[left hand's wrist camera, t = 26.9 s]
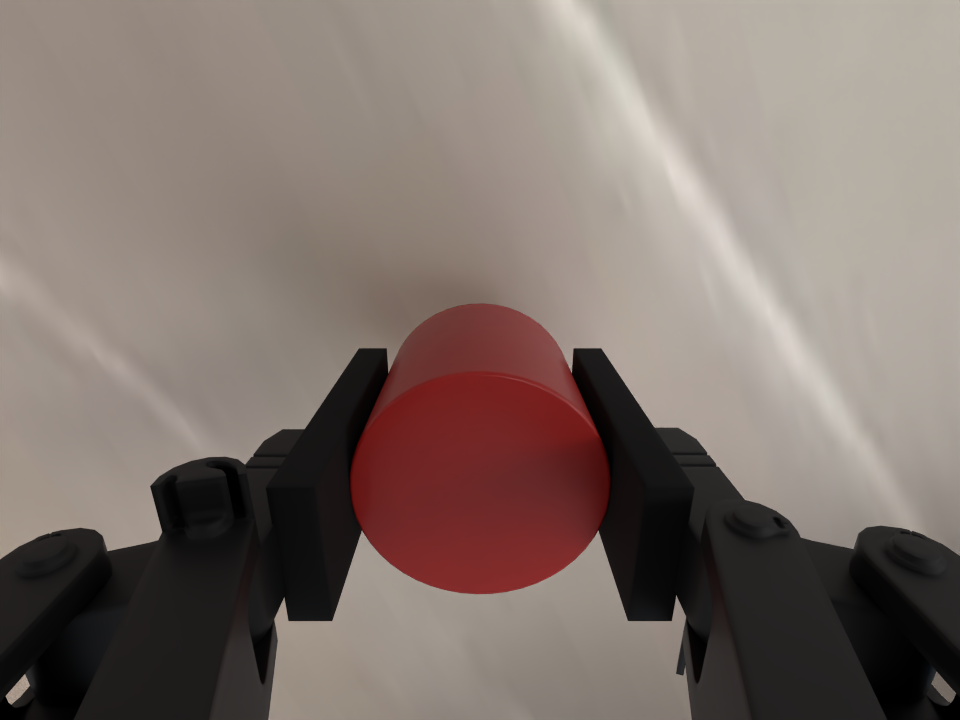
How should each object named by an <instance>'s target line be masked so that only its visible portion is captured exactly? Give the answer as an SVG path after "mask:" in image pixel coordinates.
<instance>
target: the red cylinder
mask: <svg viewBox="0 0 960 720" xmlns="http://www.w3.org/2000/svg"><path fill="white" fill-rule="evenodd" d="M610 489H611V473H610V465H609V461H608V456H607V452H606V450H605V447H604V445H603V443H602V440H601V438H600V436H599V433H598V431H597V429H596V427H595V424H594V422H593V420H592V418H591V415H590V413H589V411H588V409H587V407H586V404H585V402H584V400H583V398H582V395H581V393H580V391H579V389H578V387H577V384H576V382H575V380H574V378H573V375H572V373H571V371H570V369H569V366H568V364H567V362H566V360H565V358H564V355H563V353H562V351H561V349H560V348H559V346H558V344H557V343H556V341H555V340H554V339H553V337H552V336H551V335H550V334H549V333H548V332H547V331H546V330H545V329H544V328H543V327H542V326H541V325H540V324H539V323H537V322H536V321H534V320H533V319H532V318H530V317H528V316H526V315H524V314H523V313H521V312H518V311H516V310H513V309H510V308H507V307H503V306H499V305H492V304H468V305H461V306H457V307H453V308H450V309H447V310H444V311H442V312H440V313H438V314H435V315H434V316H432V317H430V318H429V319H427V320H426V321H424V322H423V323H422V324H421V325H419V326H418V327H417V328H416V329H415V330H414V331H413V332H412V333H411V334H410V335H409V336H408V337H407V339H406V340H405V342H404V343H403V345H402V346H401V348H400V350H399V352H398V354H397V356H396V358H395V360H394V362H393V365H392V367H391V369H390V371H389V374H388V376H387V378H386V380H385V383H384V385H383V387H382V389H381V392H380V394H379V396H378V398H377V401H376V403H375V405H374V407H373V410H372V412H371V414H370V416H369V419H368V421H367V423H366V425H365V428H364V430H363V432H362V434H361V437H360V439H359V441H358V443H357V446H356V449H355V452H354V455H353V458H352V463H351V469H350V494H351V502H352V505H353V509H354V512H355V515H356V518H357V520H358V523H359V525H360V527H361V529H362V531H363V533H364V534H365V536H366V537H367V539H368V540H369V542H370V543H371V544H372V546H373V547H374V548H375V549H376V550H377V551H378V553H379V554H380V555H381V556H382V557H384V558H385V559H386V560H387V561H388V562H389V563H390V564H391V565H393V566H394V567H396V568H397V569H399V570H400V571H401V572H403V573H405V574H406V575H408V576H410V577H412V578H414V579H415V580H418V581H420V582H422V583H425V584H427V585H430V586H433V587H436V588H440V589H443V590H447V591H453V592H458V593H468V594H493V593H501V592H508V591H513V590H517V589H521V588H524V587H527V586H530V585H533V584H536V583H538V582H540V581H542V580H545V579H547V578H549V577H551V576H552V575H554V574H556V573H557V572H559V571H561V570H562V569H564V568H565V567H566V566H567V565H569V564H570V563H571V562H572V561H574V560H575V559H576V558H577V557H578V556H579V555H580V554H581V553H582V552H583V551H584V550H585V549H586V547H587V546H588V545H589V543H590V542H591V541H592V540H593V538H594V537H595V535H596V533H597V531H598V530H599V528H600V526H601V524H602V522H603V519H604V516H605V514H606V511H607V507H608V503H609V498H610Z"/></svg>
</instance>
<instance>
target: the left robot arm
mask: <svg viewBox="0 0 960 720" xmlns="http://www.w3.org/2000/svg"><path fill="white" fill-rule="evenodd" d="M572 375H573V378H574V380H575V382H576V384H577V387H578V389H579V391H580V393H581V395H582V398H583V400H584V402H585V404H586V407H587V409H588V411H589V413H590V415H591V418H592V420H593V422H594V424H595V427H596V429H597V431H598V433H599V436H600V438H601V440H602V443H603V445H604V447H605V450H606V452H607V456H608V461H609V465H610V473H611V489H610V498H609V503H608V507H607V511H606V514H605V516H604V519H603V522H602V524H601V526H600V528H599V533H600V536H601V539H602V543H603V546H604V549H605V552H606V555H607V558H608V561H609V564H610V567H611V570H612V573H613V576H614V579H615V582H616V585H617V588H618V592H619V595H620V598H621V601H622V604H623V607H624V610H625V613H626V616H627V619H628V621H672V616H673V611H674V605H675V599H676V595H677V597H678V600H679V602H680V604H681V606H682V608H683V611H684V613H685V615H686V621H685V627H684V632H683V637H682V643H681V648H680V654H679V659H678V665H677V672H676V674H679V675H683V674H684V669H685V666H686V674H687V682H688V691H689V699H690V707H691V716H692V720H960V556H959V555H958V554H956V553H955V552H953V551H952V550H950V549H949V548H947V547H946V546H944V545H943V544H941V543H938V542H936V541H934V540H932V539H930V538H928V537H926V536H925V535H922V534H920V533H917V532H914V531H912V532H911V531H910V530H907V529H902V528H895V527H887V526H875V527H867V528H865V529H864V530H863V531H861V532H860V533H859V534H858V537H857V540H856V544H855V547H854V549H850V548H845V547H840V546H835V545H830V544H825V543H820V542H815V541H811V540H807V539H804V538H801V537H800V535H799V533H798V531H797V530H796V529H795V527H794V526H793V525H792V523H791V522H790V521H789V520H788V519H786V518H785V517H784V516H782V515H781V514H779V513H778V512H777V511H775V510H773V509H770V508H768V507H766V506H763V505H761V504H759V503H755V502H750V501H746V500H744V498H743V497H742V496H741V495H740V493H739V492H738V491H737V490H736V488H735V487H734V486H733V485H732V483H731V482H730V481H729V479H728V478H727V477H726V476H725V474H724V473H723V472H722V471H721V469H720V468H719V467H716V463H715V462H714V461H713V459H712V458H711V457H710V456H709V455H707V452H706V451H705V449H704V448H703V447H702V446H701V444H700V443H699V442H698V441H697V439H695V438H694V437H692V436H690V435H689V434H687V433H686V432H684V431H682V430H681V429H679V428H654V426H653V425H652V423H651V422H650V420H649V419H648V417H647V416H646V414H645V413H644V411H643V410H642V408H641V407H640V406H639V404H638V403H637V401H636V400H635V398H634V397H633V395H632V394H631V392H630V391H629V389H628V388H627V386H626V385H625V383H624V382H623V380H622V379H621V377H620V376H619V374H618V373H617V371H616V370H615V368H614V367H613V365H612V364H611V362H610V361H609V359H608V358H607V356H606V355H605V353H604V352H603V350H602V349H601V348H574V351H573V366H572ZM387 376H388V361H387V348H359V349H358V351H357V352H356V354H355V355H354V357H353V358H352V360H351V361H350V363H349V364H348V366H347V367H346V369H345V370H344V372H343V373H342V375H341V376H340V378H339V379H338V381H337V382H336V384H335V385H334V387H333V388H332V390H331V391H330V393H329V394H328V396H327V397H326V399H325V400H324V402H323V403H322V405H321V406H320V407H319V409H318V410H317V412H316V413H315V415H314V416H313V418H312V419H311V421H310V422H309V424H308V425H307V427H306V428H305V429H283V430H281V431H279V432H278V433H276V434H275V435H273V436H271V437H270V438H268V439H267V440H265V441H264V442H263V443H262V444H261V446H260V447H259V448H258V449H257V451H256V452H255V453H254V456H253V457H251V458H250V460H249V461H248V462H247V463H246V465H245V464H243V463H242V462H241V461H239V460H238V459H233V458H229V457H208V458H204V459H199V460H194V461H190V462H187V463H185V464H182V465H180V466H177V467H174V468H172V469H171V470H169V471H168V472H166V473H164V474H163V475H161V476H159V477H158V478H157V480H156V481H155V482H154V483H153V484H152V485H151V486H150V487H151V491H152V495H153V498H154V502H155V506H156V510H157V513H158V517H159V521H160V525H161V529H162V534H161V536H160V538H159V540H158V541H154V542H150V543H146V544H141V545H136V546H131V547H127V548H122V549H117V550H112V551H107V548H106V545H105V542H104V539H103V536H102V535H101V534H99V533H98V532H97V531H95V530H92V529H84V528H76V529H68V530H60V531H56V532H52V533H51V534H49V533H48V534H45V535H43V536H40V537H37V538H36V539H34V540H32V541H30V542H28V543H26V544H24V545H22V546H19V547H18V548H16V549H15V550H13V551H12V552H10V553H9V554H7V555H6V556H5V557H3V558H2V559H0V720H268V717H269V709H270V700H271V692H272V684H273V675H274V667H275V659H276V650H277V642H278V640H277V633H276V627H275V621H274V618H275V616H276V614H277V612H278V610H279V607H280V605H281V603H282V601H283V599H284V597H285V603H286V609H287V614H288V620H289V621H332V620H333V617H334V614H335V611H336V608H337V605H338V602H339V599H340V596H341V593H342V589H343V586H344V583H345V580H346V577H347V574H348V571H349V568H350V565H351V562H352V559H353V556H354V553H355V550H356V547H357V543H358V540H359V537H360V534H361V531H362V529H361V527H360V525H359V523H358V520H357V518H356V515H355V512H354V509H353V505H352V502H351V494H350V469H351V463H352V458H353V455H354V452H355V449H356V446H357V443H358V441H359V439H360V437H361V434H362V432H363V430H364V428H365V425H366V423H367V421H368V419H369V416H370V414H371V412H372V410H373V407H374V405H375V403H376V401H377V398H378V396H379V394H380V392H381V389H382V387H383V385H384V383H385V380H386V378H387ZM936 671H937V672H938V673H939V674H940V675H941V677H942V678H943V679H944V680H945V681H946V682H947V683H948V684H949V686H950V687H951V688H952V689H953V690H954V691H955V692H956V695H955V697H954V700H953V701H952V702H951V703H949V702H948V701H947V700H946V699H945V698H944V697H943V696H941V695H940V693H939V692H938V691H937V690H936V689H935V688H934V686H933V685H932V684H931V683H932V680H933V678H934V676H935V674H936ZM24 674H25V675H26V677H27V679H28V682H29V684H30V686H29V688H28V689H27V690H26V691H25V692H24V694H23V695H22V696H21V697H20V698H19V699H18V700H16V701H15V702H14V703H13V704H12V705H11V704H9V703H8V701H7V698H6V695H7V694H8V692H9V691H10V690H11V689H12V688H13V687H14V686H15V684H16V683H17V682H18V681H19V680H20V679H21V678H22V676H23V675H24Z"/></svg>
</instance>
